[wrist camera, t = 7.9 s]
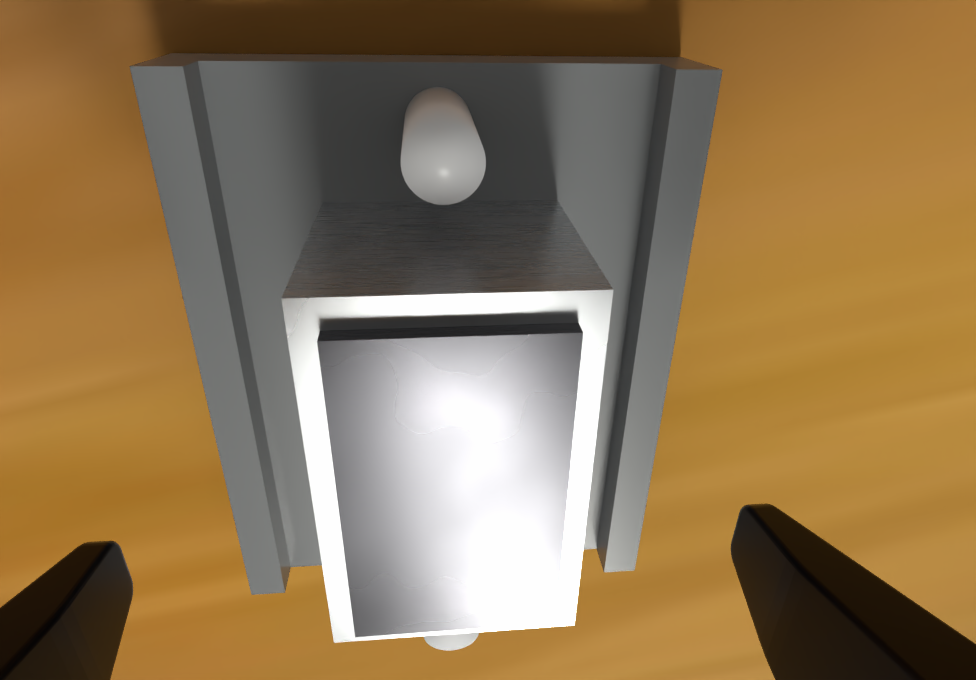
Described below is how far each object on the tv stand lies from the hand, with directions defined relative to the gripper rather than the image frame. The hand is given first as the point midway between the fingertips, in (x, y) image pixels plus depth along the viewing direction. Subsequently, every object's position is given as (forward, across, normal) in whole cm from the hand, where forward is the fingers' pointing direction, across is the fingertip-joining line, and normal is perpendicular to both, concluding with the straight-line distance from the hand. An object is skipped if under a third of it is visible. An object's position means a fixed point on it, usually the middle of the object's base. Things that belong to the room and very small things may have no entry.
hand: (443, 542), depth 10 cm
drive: (+5, 0, 0) cm, 5 cm away
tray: (+6, 0, 0) cm, 7 cm away
